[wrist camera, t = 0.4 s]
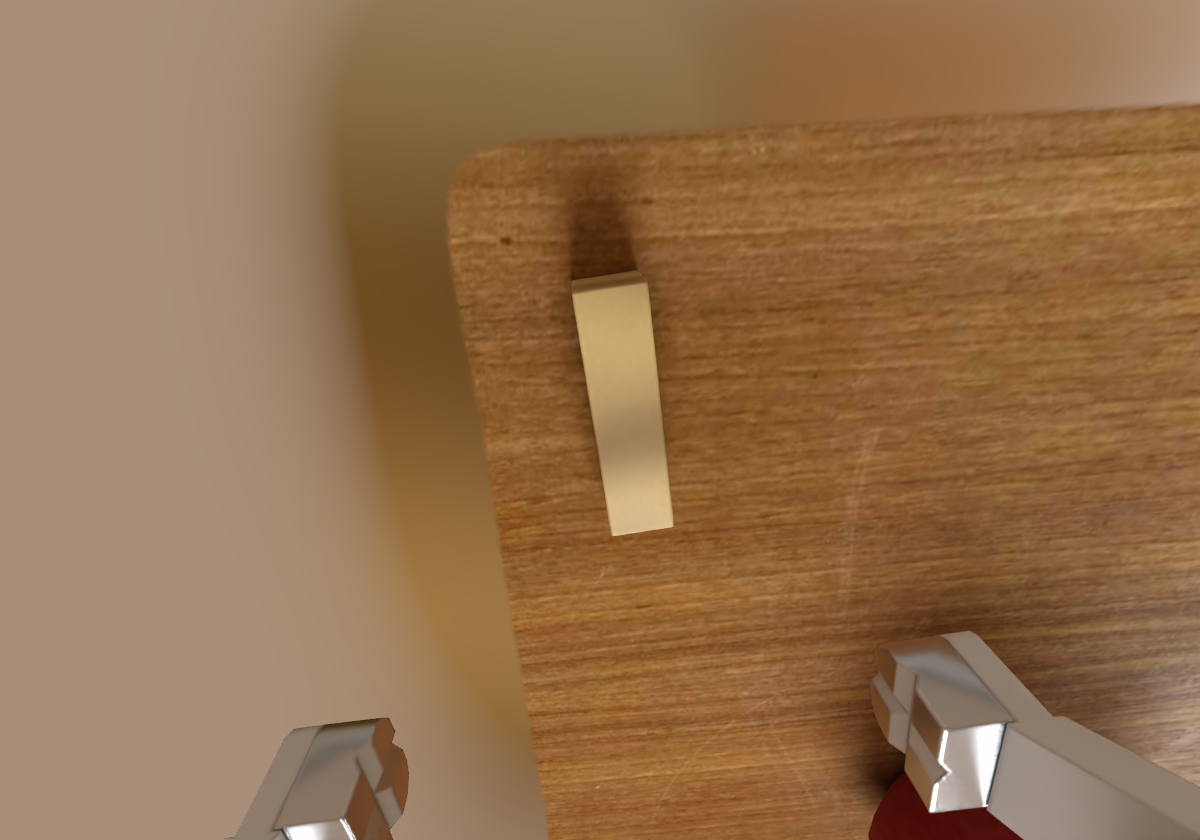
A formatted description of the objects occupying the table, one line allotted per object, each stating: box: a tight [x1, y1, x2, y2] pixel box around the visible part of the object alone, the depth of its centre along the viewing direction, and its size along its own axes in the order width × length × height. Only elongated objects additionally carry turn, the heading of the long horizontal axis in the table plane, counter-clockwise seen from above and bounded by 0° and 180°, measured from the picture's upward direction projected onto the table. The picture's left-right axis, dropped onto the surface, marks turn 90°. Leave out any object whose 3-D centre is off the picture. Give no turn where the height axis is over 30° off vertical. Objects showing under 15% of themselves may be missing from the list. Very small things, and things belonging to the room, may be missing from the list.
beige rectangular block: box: [571, 270, 674, 536], centre depth 22 cm, size 10×3×3 cm, turn 8°
